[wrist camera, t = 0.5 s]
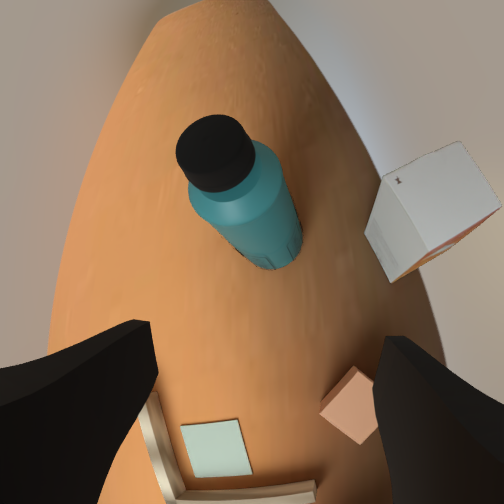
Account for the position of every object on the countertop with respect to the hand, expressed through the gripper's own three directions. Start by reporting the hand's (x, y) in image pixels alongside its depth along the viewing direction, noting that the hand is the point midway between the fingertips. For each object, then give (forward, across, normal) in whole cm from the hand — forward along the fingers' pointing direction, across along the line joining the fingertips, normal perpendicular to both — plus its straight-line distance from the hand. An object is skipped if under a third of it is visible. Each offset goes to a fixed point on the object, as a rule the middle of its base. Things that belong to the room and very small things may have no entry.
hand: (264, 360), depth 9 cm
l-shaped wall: (+14, +5, +23) cm, 27 cm away
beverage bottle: (+25, +1, +3) cm, 25 cm away
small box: (+24, -13, +2) cm, 27 cm away
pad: (+14, +6, +24) cm, 28 cm away
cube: (+16, -8, +16) cm, 24 cm away
